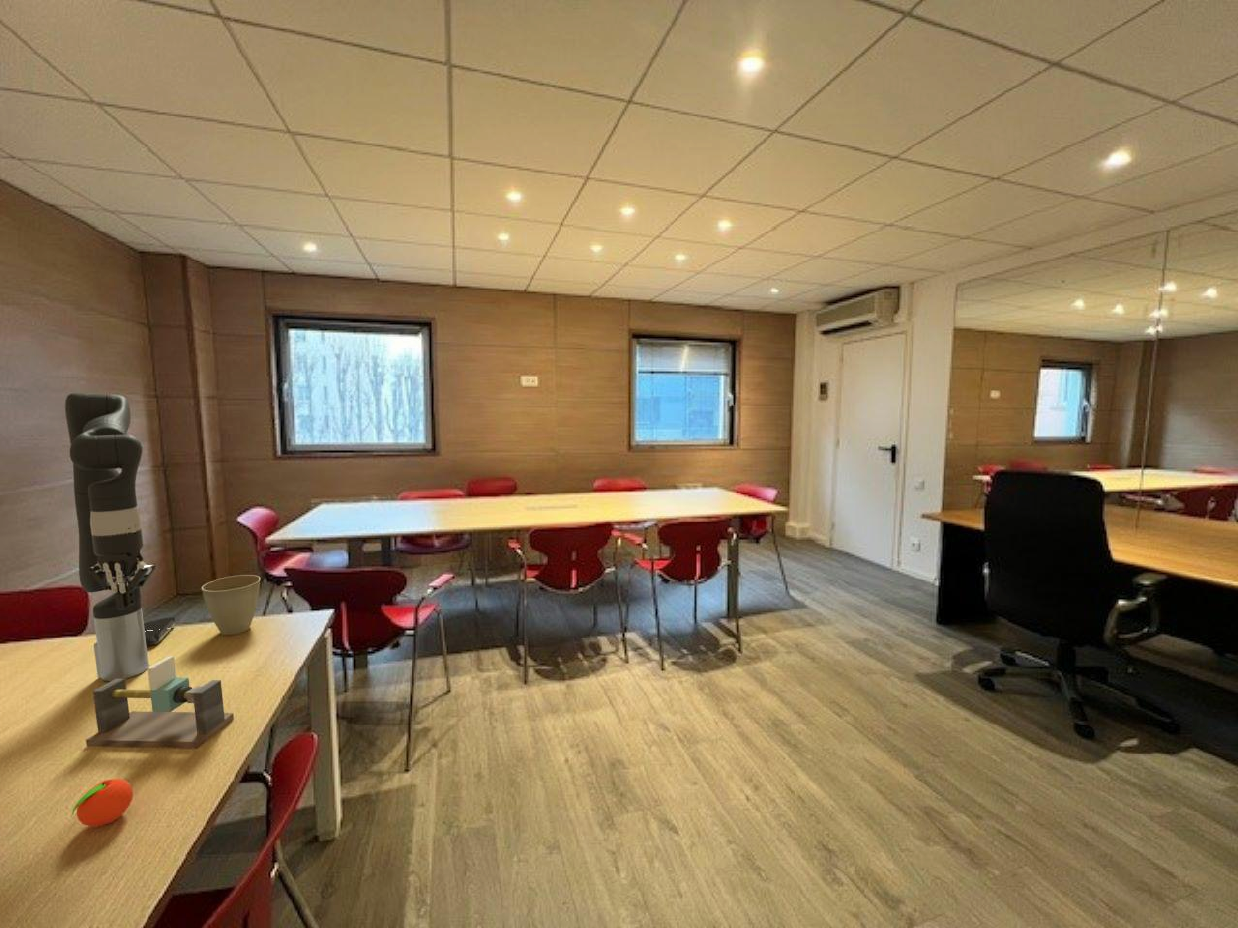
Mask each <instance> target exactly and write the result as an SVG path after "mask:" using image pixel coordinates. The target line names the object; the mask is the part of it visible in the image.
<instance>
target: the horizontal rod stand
mask: <svg viewBox="0 0 1238 928" xmlns="http://www.w3.org/2000/svg"><path fill="white" fill-rule="evenodd" d="M126 685H127V683H126V679H115V680H113V681H108V683H105V684H103V685H102V686H100V687H98V688H97V689H95V690H93V691H92V695H93V702H94V710H95V711H94V712H95V718H96V727H97V732H96V733H95V734H93V735H91V736H90V737H89V738H86V739H85V742H86V743H85V744H86V747H92V748H93V747H96V748H97V747H101V748H103V747H104V748H154V749H157V748H158V749H159V748H160V749H198V748H199V747H201V746H202V745H204V744H205V743H206V742H208V741H209V740H210V739H211V738H212V737H214V736H215V735H216V734H217V733H219V732H220V731H221V730H222V729H224V728H225V727H226V726H227V725H228V724H230V723H231V722H232V721H234V719H235V715H234V712H225V709H224V699H223V688H222V680H221V679H220V680H219V679H216V680H215V679H212V680H210V681H209V682H207V683H206V684H204V685H203V686H194V687H191V686H189V687H180V688H178V689H177V690H176V692H175V694H174V701H175V702H176V703H183V704H185V703H187V704H193V707H194V712H193V711H192V712H191V711H190V712H189V711H187V712H186V711H171V712H152V711H135V710H134V711H130V709H129V702H128V698H130V699H151V695H150V689H127V686H126Z"/></svg>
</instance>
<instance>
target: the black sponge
mask: <svg viewBox="0 0 1238 928" xmlns="http://www.w3.org/2000/svg"><path fill="white" fill-rule="evenodd" d="M175 625H176V618H175V617H174V616H173V617H172V616H171V617H164V618H160V619H156V620H155V619H154V620H151V621H147V622H144V629H145V631H146V632H145V637H146V646H147V647H148V646H152V645H156V644H159V642H161V641H162V640H163V639H164V638H165V637H166V636H167V634H169V632H170V631H171V630H172V629H173V628H174V627H175ZM167 628H172V629H167ZM159 629H160V630H159ZM147 630H153V631H147Z"/></svg>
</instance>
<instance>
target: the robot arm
mask: <svg viewBox="0 0 1238 928" xmlns="http://www.w3.org/2000/svg"><path fill="white" fill-rule="evenodd" d="M64 401H65V402H64V409H65V411H64V412H65V418H66V419H65V420H66V425H67V431H68V435H69V442H70V443H69V444H70V447H69V457H70V461H71V463H72V466H73V467H72V468H73V495H74V503H75V504H74V505H75V510H76V511H75V512H76V513H75V514H76V518H77V527H78V540H79V541H78V546H79V547H78V573H79V574H78V575H79V577H78V578H79V581H80V585H81V588H82V589H83V590H84V591H85V592H87V593H98V592H103V591H111V592H112V593H113V594H111V595H110V596H108V597H107V598H105V599H103V600H101V601H99V602H97V603H96V604H94V606H93V607H92V614H93V615H92V616H93V622H94V630H95V631H94V632H95V636H96V637H95V638H96V642H95V643H93V652H94V657H95V659H94V661H95V666H96V667H95V668H96V674H97V678H98V679H101V680H102V681H103V682H111V681H113V680H115V679H125V680H126V679H129V678H132V677H134V676H137V675H140V674H142V673H143V672H145V671H147V668H148V667H150V665H149V656H148V655H149V654H148V646H146V637H145V629H144V623H145V622H144V620H145V619H144V613H143V604H142V593H141V592H142V590H141V588H142V587H144V585H146V584H145V583H147V581H148V579H149V578H150V577H151V575H152V573H154V571H155V569H156V566H155V565H154V564H149V565H148V564H147V563H146V562H144V557H143V555H142V553H141V550H142V549H143V547H144V539H143V538H144V537H143V532H142V531H143V529H142V521H141V514H140V511H139V509H138V508H139V507H138V500H137V499H138V498H137V492H136V483H137V474H138V471H139V466H140V463H141V460H142V457H143V445H142V443H141V441H140V440H139V439H138V438H137V437H135V436H133V435H130V434H128V433H127V432H128V430H129V427H130V425H131V409H130V404H129V402H128V400H127V399H126V398H125V397H124V396H122V395H119V394H114V393H113V394H112V393H111V394H110V393H87V392H86V393H85V392H84V393H82V392H81V393H79V392H78V393H77V392H75V393H73V392H72V393H69V394H68V395H67V396H66V398H65V400H64ZM117 469H121V471H120V472H119V471H118V470H117Z"/></svg>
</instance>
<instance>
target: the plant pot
mask: <svg viewBox="0 0 1238 928" xmlns="http://www.w3.org/2000/svg"><path fill="white" fill-rule="evenodd" d="M260 587H261V577H260V576H259V575H252V574H241V575H233V576H227V577H222V578H218V579H215V580H212V581H208V582H207V583H204V584H203V585H202V586H201V591H202V595H203V598H204V602H205V605H206V608H207V610H208V612H209V615H210V617H211V619H212V620H213V622H214V625H215V626H216V628H217V629H218V632H219V633H220V634H221V635H222V636H234V635H238V634H242V633H245V632H246V631H248V630H249V629H250V628H251V625H252V622H253V621H254V620H253V619H254V617H255V613H256V610H257V605H258V600H259V596H260Z"/></svg>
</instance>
